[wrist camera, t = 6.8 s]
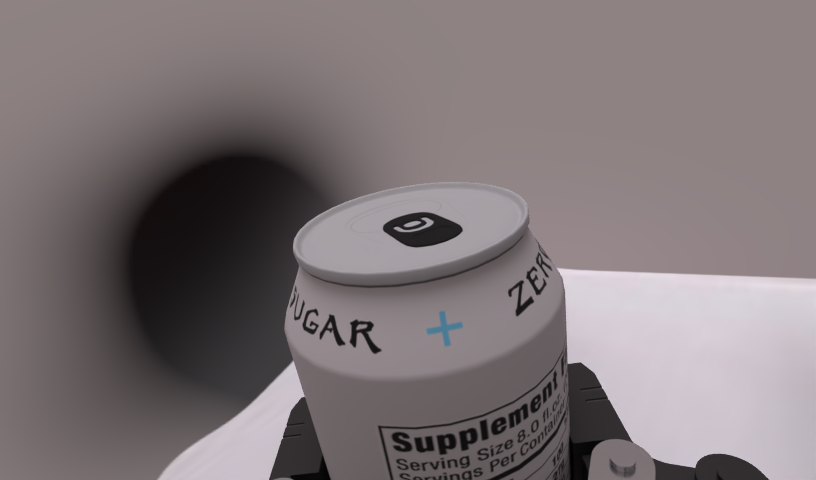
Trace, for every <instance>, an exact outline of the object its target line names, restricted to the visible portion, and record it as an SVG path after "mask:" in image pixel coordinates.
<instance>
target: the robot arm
mask: <svg viewBox="0 0 816 480" xmlns="http://www.w3.org/2000/svg"><path fill="white" fill-rule="evenodd" d="M568 392H569V421H570V433H569V436H570V463H571V480H769V479H768V478H767V477H766V476H765V475H764V474H763V473H762V472H761V471H759V470H758V469H757V468H756V467H754V466H753V465H752V464H750V463H748V462H746V461H745V460H742V459H740V458H737V457H734V456H731V455H726V454H711V455H707V456H704V457H703V458H701V459H700V460H699V461H698V463H697V464H696V468H692V467H686V466H680V465H673V464H668V463H664V462H661V461H658V460H655V459H653V458H651V456H650V455H649V454H648V453H647V452H646V451H645V450H644V449H643V448H641V447H640V446H638V445H636V444H635V443H633V442H632V440H631V439H630V437H629V435H628V433H627V431H626V430H625V428H624V426H623V424H622V422H621V421H620V419H619V417H618V415H617V413H616V411H615V410H614V408H613V406H612V404H611V402H610V401H609V400H608V397H607V395H606V393H605V392H604V390H603V389H602V386H601V384H600V383H599V381H598V379H597V377H596V375H595V374H594V373H593V372H592V371H591V370H590V369H588V368H587V367H586V366H585V365H583V364H582V363H573V364H568ZM269 480H331V479H330V476H329V472H328V469H327V466H326V463H325V460H324V456H323V453H322V450H321V447H320V443H319V440H318V437H317V434H316V431H315V427H314V424H313V421H312V418H311V414H310V411H309V408H308V405H307V402H306V398H305V397H303V398H301V399H300V400H299V402H298V403H297V404H296V405H295V407H294V408H293V409H292V410H291V413H290V416H289V419H288V422H287V427H286V428H285V431H284V435H283V439H282V441H281V444H280V447H279V450H278V453H277V456H276V460H275V463H274V466H273V469H272V472H271V475H270V478H269Z"/></svg>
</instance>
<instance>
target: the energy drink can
mask: <svg viewBox="0 0 816 480" xmlns="http://www.w3.org/2000/svg"><path fill="white" fill-rule="evenodd" d="M528 224H529V209H528V205H527V204H526V202H525V201H524V200H523V198H522V197H520V196H519V195H517V194H516V193H514V192H512V191H510V190H507V189H505V188H502V187H497V186H493V185H488V184H481V183H472V182H441V183H439V182H438V183H427V184H418V185H411V186H404V187H399V188H394V189H389V190H384V191H380V192H376V193H373V194H369V195H365V196H362V197H359V198H356V199H353V200H350V201H347V202H345V203H343V204H340V205H338V206H335V207H333V208H331V209H329V210H327V211H325V212H324V213H322V214H320V215H318V216H317V217H315V218H314V219H312V220H311V221H309V222H308V223H307V224H306V225H305V226H304V227H303V228H302V229H301V230H300V231H299V232H298V234H297V236H296V237H295V239H294V244H293V251H294V255H295V257H296V259H297V262H298V264H299V265H300V266H299V270H298V274H297V277H296V281H295V284H294V288H293V291H292V294H291V298H290V301H289V305H288V309H287V313H286V320H285V333H286V336H287V340H288V343H289V347H290V350H291V353H292V356H293V360H294V363H295V366H296V369H297V373H298V376H299V379H300V382H301V385H302V389H303V392H304V395H305V398H306V402H307V405H308V408H309V411H310V414H311V418H312V421H313V424H314V427H315V431H316V434H317V437H318V440H319V443H320V447H321V450H322V453H323V456H324V460H325V463H326V466H327V469H328V472H329V476H330V479H331V480H571V463H570V436H569V433H570V421H569V392H568V363H567V334H566V305H565V289H564V284H563V279H562V277H561V275H560V273H559V272H558V270H557V268H556V267H555V265H554V264H553V262H552V261H551V259H550V258H549V256H548V255H547V254H546V252H545V251H544V250H543V248H542V247H541V245H540V244H539V242H538V241H537V240H536V238H535V237H534V235H533V234H532V233H531V231H530V230H529V228H528Z"/></svg>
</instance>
